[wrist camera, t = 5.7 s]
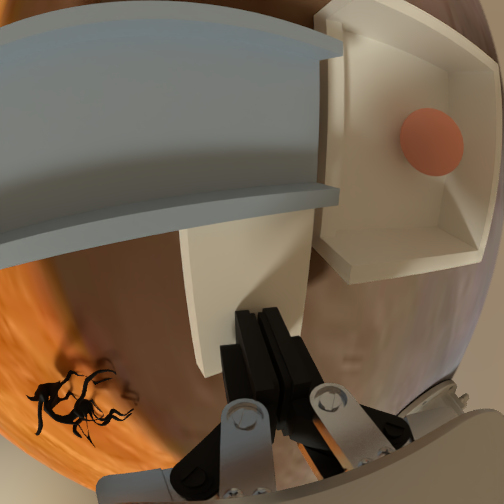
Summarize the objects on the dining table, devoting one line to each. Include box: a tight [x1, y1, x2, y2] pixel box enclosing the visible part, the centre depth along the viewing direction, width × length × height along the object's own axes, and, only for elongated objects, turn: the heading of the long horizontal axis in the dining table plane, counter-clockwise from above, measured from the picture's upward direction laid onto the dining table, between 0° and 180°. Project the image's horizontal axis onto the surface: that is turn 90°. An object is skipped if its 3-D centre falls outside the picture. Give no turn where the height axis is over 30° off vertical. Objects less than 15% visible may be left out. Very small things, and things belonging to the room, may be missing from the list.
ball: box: [400, 108, 464, 176], centre depth 11 cm, size 4×4×4 cm
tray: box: [312, 0, 502, 285], centre depth 11 cm, size 10×12×4 cm
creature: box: [26, 369, 134, 447], centre depth 14 cm, size 8×5×8 cm
